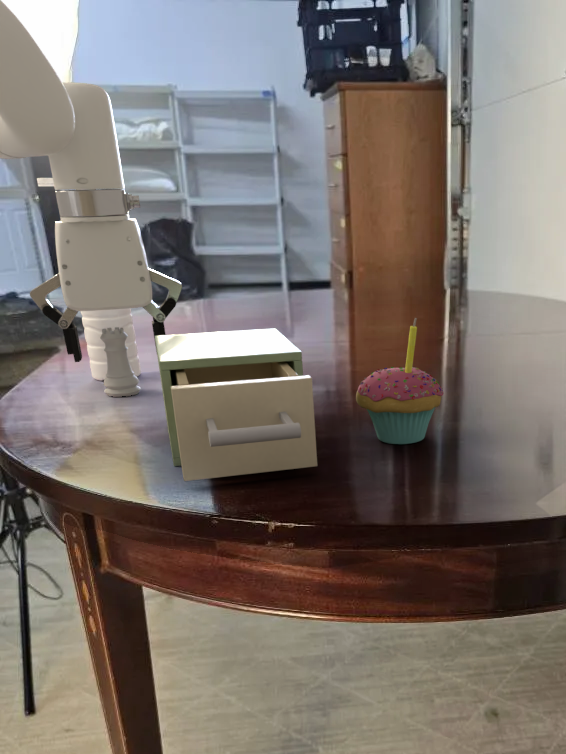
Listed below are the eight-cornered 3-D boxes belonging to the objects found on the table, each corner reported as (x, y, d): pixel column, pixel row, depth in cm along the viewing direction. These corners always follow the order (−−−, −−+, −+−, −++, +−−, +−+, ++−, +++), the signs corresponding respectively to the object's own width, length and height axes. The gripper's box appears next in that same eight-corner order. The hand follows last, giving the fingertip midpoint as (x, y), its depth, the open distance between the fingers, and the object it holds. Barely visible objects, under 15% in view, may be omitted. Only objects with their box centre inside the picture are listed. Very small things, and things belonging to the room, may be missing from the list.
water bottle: (139, 369, 111) (110, 178, 101) (143, 378, 106) (112, 177, 95) (75, 375, 108) (37, 178, 98) (74, 384, 103) (35, 177, 92)
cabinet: (308, 451, 75) (301, 351, 71) (173, 466, 71) (158, 361, 67) (282, 415, 87) (275, 328, 83) (167, 425, 84) (154, 335, 80)
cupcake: (457, 434, 79) (459, 314, 74) (411, 456, 73) (410, 325, 68) (389, 422, 84) (387, 308, 79) (340, 442, 77) (334, 319, 73)
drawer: (331, 487, 63) (326, 392, 60) (188, 504, 60) (174, 405, 57) (289, 426, 80) (284, 350, 76) (175, 437, 76) (164, 358, 73)
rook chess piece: (97, 396, 97) (85, 331, 93) (119, 388, 100) (108, 325, 97) (127, 398, 95) (116, 332, 92) (148, 390, 99) (139, 326, 96)
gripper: (169, 204, 95) (188, 345, 102) (16, 209, 90) (47, 357, 97) (172, 205, 88) (192, 356, 95) (7, 210, 83) (42, 368, 91)
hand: (119, 356), depth 96 cm, fingers open, 9 cm apart
